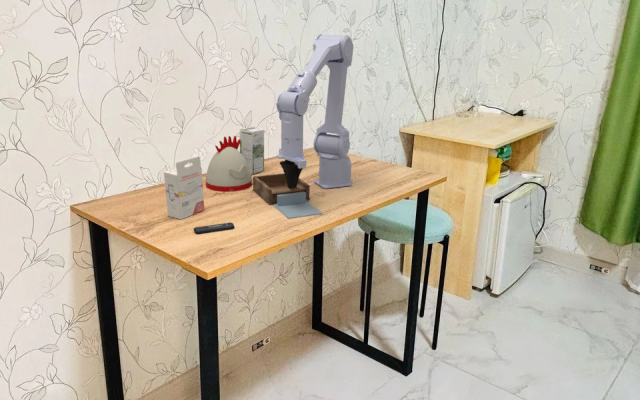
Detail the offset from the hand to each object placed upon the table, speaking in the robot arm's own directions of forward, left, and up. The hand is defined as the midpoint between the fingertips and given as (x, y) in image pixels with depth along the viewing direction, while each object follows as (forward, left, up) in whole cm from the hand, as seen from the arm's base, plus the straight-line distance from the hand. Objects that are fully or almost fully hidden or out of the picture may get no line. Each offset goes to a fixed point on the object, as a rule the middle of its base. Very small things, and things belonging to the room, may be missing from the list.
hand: (292, 187), depth 141 cm
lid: (0, +4, -5) cm, 7 cm away
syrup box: (0, -35, -5) cm, 35 cm away
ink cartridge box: (+28, -4, -5) cm, 29 cm away
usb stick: (+24, +10, -6) cm, 27 cm away
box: (0, -9, -5) cm, 10 cm away
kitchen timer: (+11, -24, -5) cm, 27 cm away
